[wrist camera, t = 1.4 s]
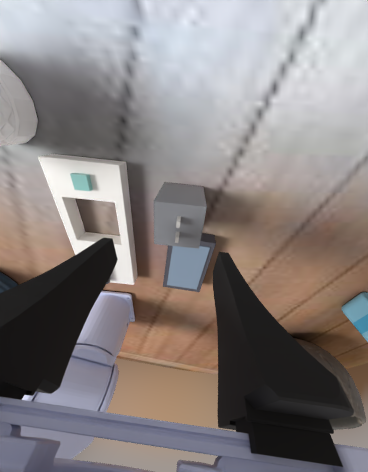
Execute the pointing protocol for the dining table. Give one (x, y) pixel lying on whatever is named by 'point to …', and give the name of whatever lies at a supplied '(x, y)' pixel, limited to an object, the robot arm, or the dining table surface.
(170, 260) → the phone
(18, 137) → the white cup
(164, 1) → the dining table surface
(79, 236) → the white flat block
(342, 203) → the dining table surface
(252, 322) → the robot arm
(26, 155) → the dining table surface
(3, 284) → the canister
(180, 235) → the plug
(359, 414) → the bowl
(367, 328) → the blue upright slab
